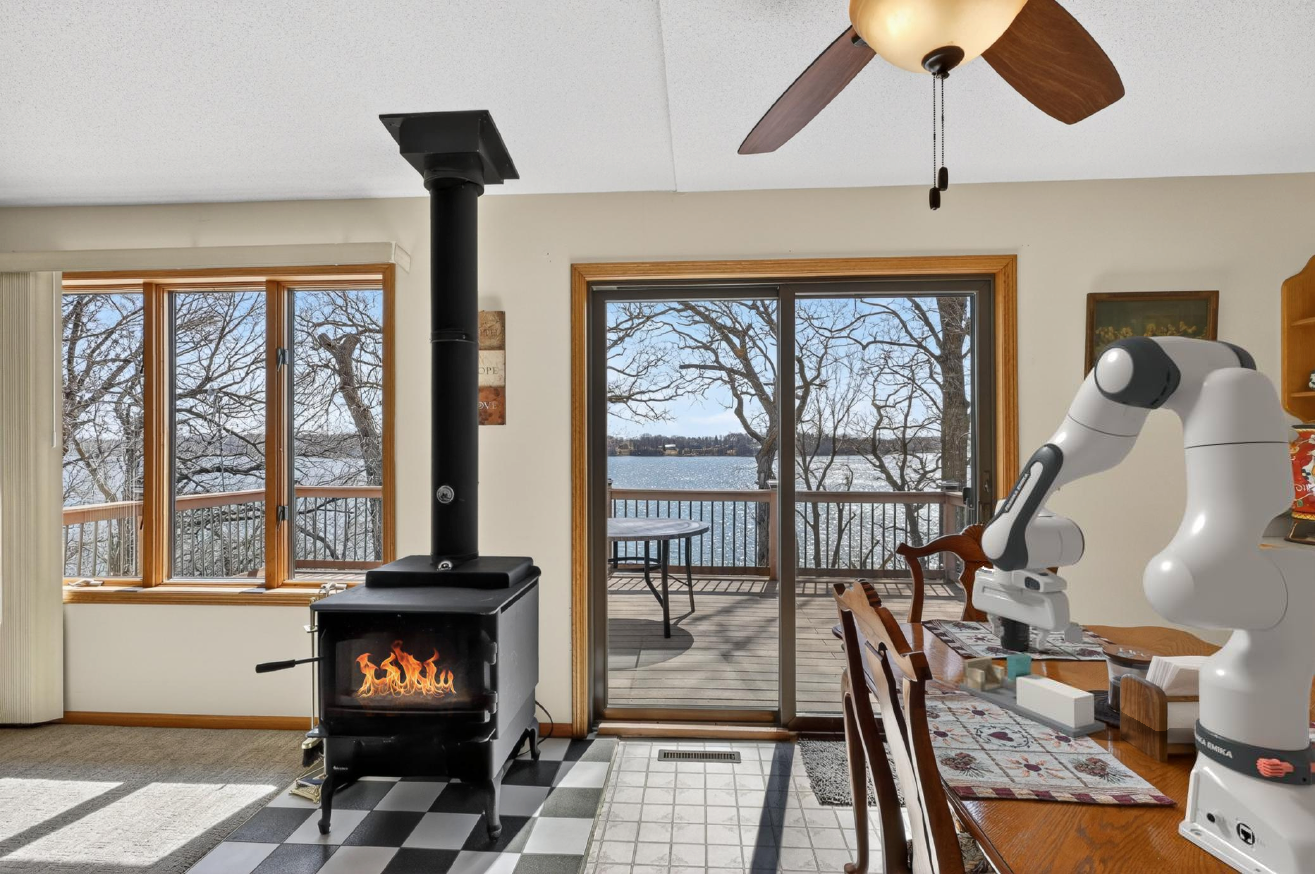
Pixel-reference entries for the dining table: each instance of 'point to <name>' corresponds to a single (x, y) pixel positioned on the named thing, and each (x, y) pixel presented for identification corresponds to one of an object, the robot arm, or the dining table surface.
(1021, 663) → the slip tube
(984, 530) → the robot arm
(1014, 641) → the supplement bottle
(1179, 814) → the dining table surface
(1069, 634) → the lighter
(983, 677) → the socket block
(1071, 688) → the tube stand
